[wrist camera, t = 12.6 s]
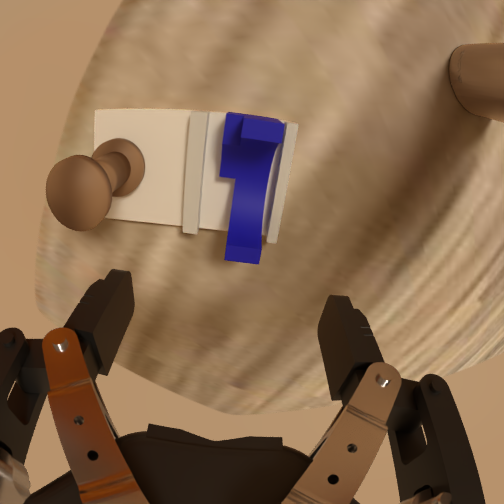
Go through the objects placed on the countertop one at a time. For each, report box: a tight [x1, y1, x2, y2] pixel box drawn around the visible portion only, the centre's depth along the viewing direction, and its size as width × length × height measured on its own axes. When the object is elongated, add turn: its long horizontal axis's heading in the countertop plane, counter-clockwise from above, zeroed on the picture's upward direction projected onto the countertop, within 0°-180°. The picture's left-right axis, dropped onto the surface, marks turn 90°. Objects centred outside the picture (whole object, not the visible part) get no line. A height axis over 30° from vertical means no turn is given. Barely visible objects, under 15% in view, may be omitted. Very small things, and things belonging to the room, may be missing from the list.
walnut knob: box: [46, 138, 145, 231], centre depth 23 cm, size 6×6×9 cm
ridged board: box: [94, 108, 299, 243], centre depth 27 cm, size 20×12×3 cm, turn 82°
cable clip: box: [219, 112, 285, 264], centre depth 25 cm, size 12×4×6 cm, turn 171°
